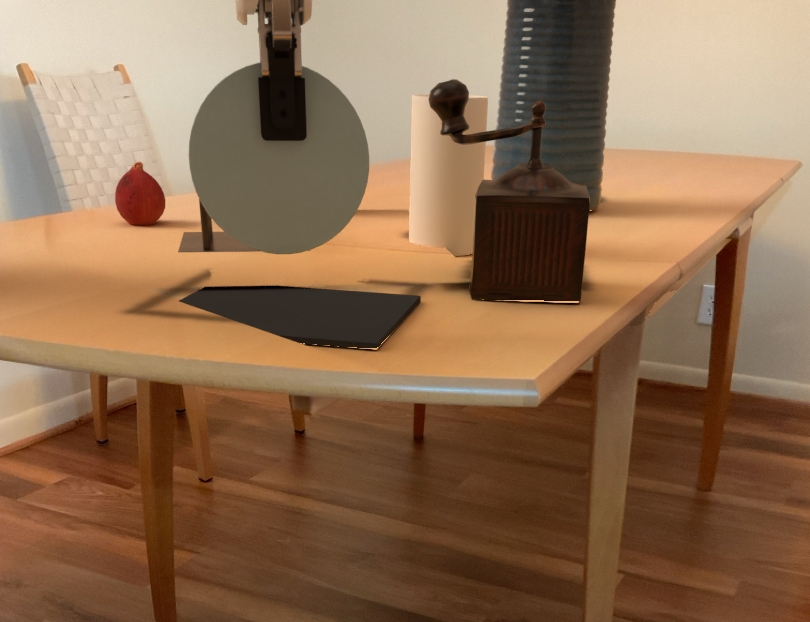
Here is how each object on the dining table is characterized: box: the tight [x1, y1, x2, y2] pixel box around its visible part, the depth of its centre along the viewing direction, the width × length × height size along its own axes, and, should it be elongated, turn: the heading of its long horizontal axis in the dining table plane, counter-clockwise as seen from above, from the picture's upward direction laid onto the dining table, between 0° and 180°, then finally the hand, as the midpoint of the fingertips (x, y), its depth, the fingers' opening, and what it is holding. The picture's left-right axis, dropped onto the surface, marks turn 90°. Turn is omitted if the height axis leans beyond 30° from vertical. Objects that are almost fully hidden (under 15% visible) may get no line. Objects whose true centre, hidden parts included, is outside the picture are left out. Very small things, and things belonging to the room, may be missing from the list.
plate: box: [188, 61, 370, 255], centre depth 67 cm, size 1×13×13 cm, turn 99°
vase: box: [490, 0, 617, 211], centre depth 128 cm, size 16×16×32 cm
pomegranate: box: [114, 161, 166, 227], centre depth 110 cm, size 6×6×8 cm
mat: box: [178, 284, 422, 348], centre depth 78 cm, size 20×16×1 cm
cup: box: [408, 93, 489, 257], centre depth 102 cm, size 8×8×16 cm
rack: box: [177, 198, 311, 253], centre depth 102 cm, size 12×14×7 cm
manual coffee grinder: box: [428, 78, 590, 302], centre depth 85 cm, size 16×11×18 cm
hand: (283, 137), depth 66 cm, fingers closed on plate, 1 cm apart
